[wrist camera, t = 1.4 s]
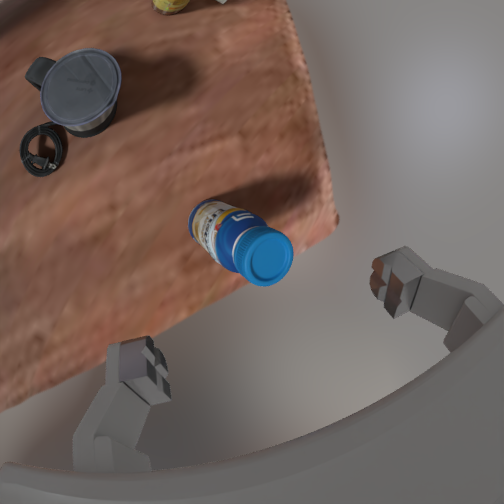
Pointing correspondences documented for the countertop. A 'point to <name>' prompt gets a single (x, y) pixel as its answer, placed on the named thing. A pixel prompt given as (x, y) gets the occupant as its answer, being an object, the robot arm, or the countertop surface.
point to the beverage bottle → (241, 242)
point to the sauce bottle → (169, 6)
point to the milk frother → (72, 100)
